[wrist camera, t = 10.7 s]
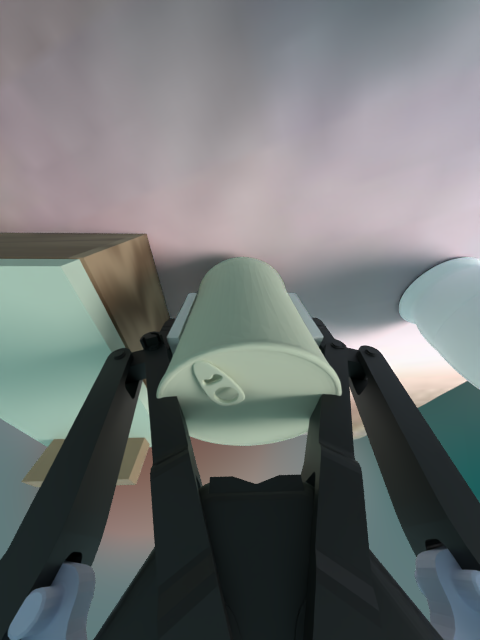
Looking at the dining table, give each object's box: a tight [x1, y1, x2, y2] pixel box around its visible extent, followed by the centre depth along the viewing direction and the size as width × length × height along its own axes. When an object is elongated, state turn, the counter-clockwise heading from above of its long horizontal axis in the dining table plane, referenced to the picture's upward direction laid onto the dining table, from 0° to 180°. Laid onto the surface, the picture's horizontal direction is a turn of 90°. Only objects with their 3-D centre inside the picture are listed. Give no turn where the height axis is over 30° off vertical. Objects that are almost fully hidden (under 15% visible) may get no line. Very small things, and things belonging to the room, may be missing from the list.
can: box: [156, 257, 342, 446], centre depth 13 cm, size 9×9×12 cm
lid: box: [0, 259, 152, 487], centre depth 13 cm, size 22×14×5 cm, turn 179°
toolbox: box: [0, 233, 170, 388], centre depth 19 cm, size 22×14×8 cm, turn 179°
